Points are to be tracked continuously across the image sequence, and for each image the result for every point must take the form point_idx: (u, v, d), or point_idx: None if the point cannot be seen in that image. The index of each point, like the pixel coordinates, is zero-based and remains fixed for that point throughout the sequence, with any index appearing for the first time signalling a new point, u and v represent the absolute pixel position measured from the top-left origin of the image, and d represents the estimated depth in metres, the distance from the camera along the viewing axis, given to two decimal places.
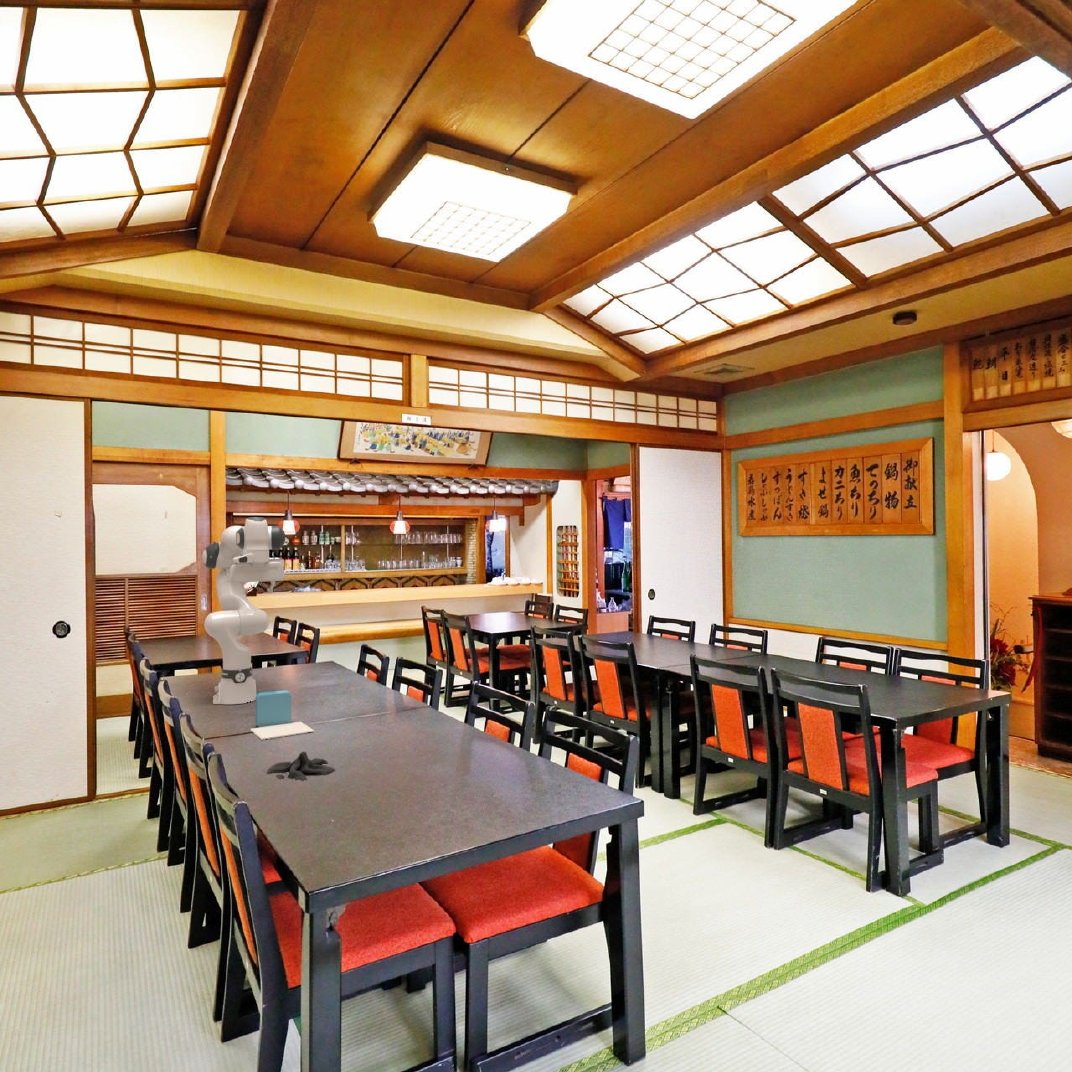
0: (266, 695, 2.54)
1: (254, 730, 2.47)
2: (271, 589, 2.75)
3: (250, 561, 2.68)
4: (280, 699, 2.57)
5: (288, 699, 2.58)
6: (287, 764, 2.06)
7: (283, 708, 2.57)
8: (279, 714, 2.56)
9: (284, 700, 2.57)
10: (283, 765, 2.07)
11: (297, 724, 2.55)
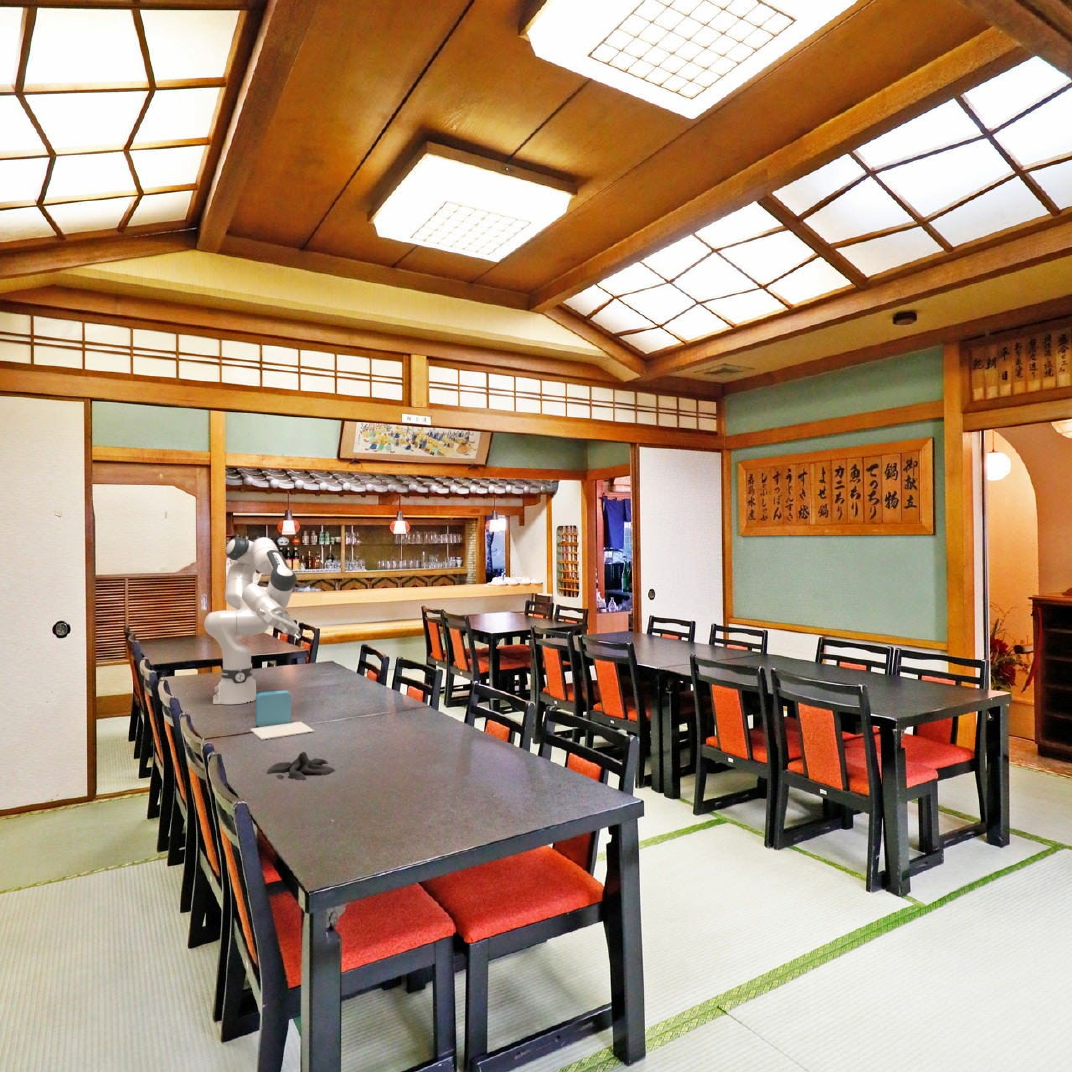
0: (266, 695, 2.54)
1: (254, 730, 2.47)
2: None
3: None
4: (280, 699, 2.57)
5: (288, 699, 2.58)
6: (287, 764, 2.06)
7: (283, 708, 2.57)
8: (279, 714, 2.56)
9: (284, 700, 2.57)
10: (283, 765, 2.07)
11: (297, 724, 2.55)
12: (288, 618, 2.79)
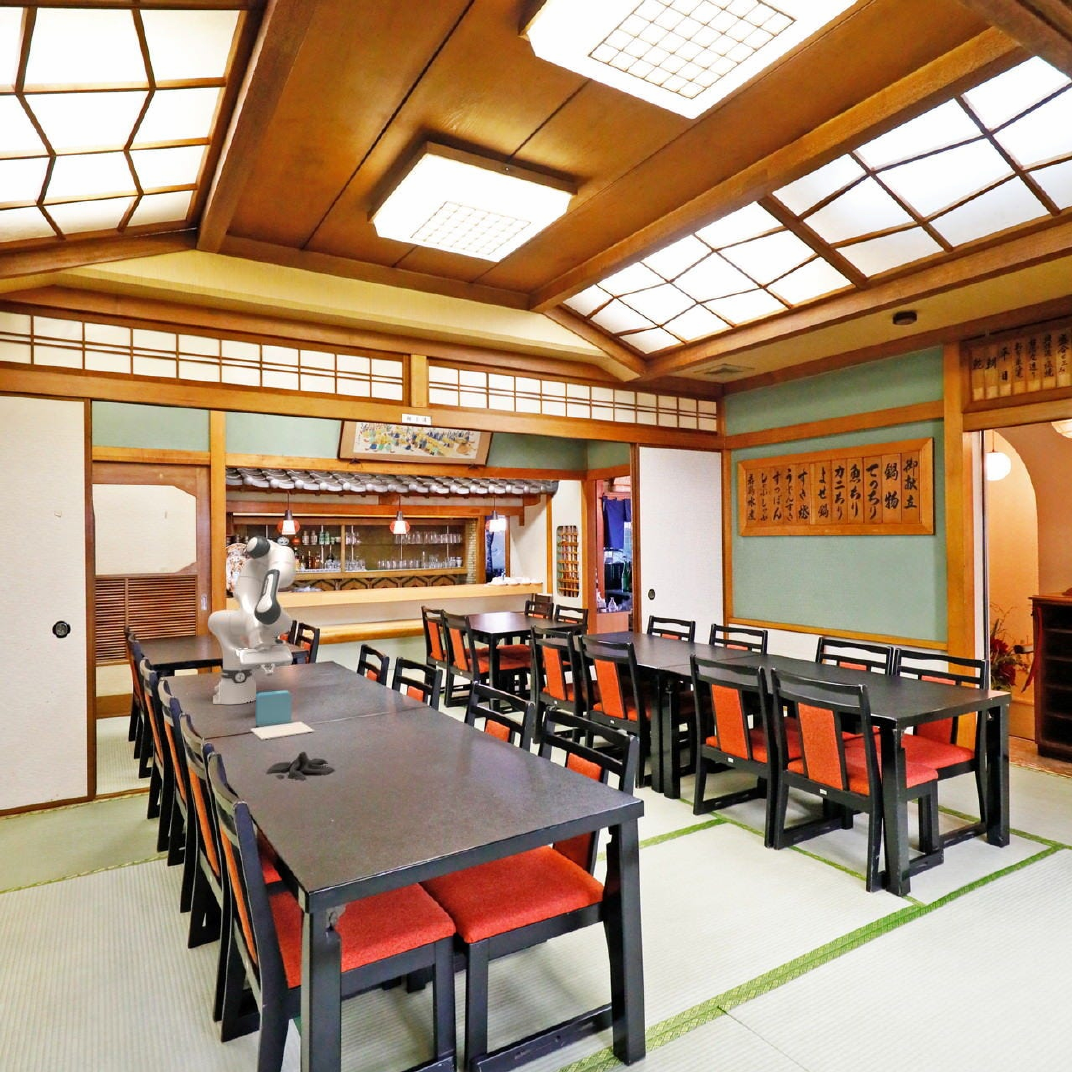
0: (266, 695, 2.54)
1: (254, 730, 2.47)
2: None
3: None
4: (280, 699, 2.57)
5: (288, 699, 2.58)
6: (287, 764, 2.06)
7: (283, 708, 2.57)
8: (279, 714, 2.56)
9: (284, 700, 2.57)
10: (283, 765, 2.07)
11: (297, 724, 2.55)
12: (281, 648, 2.77)
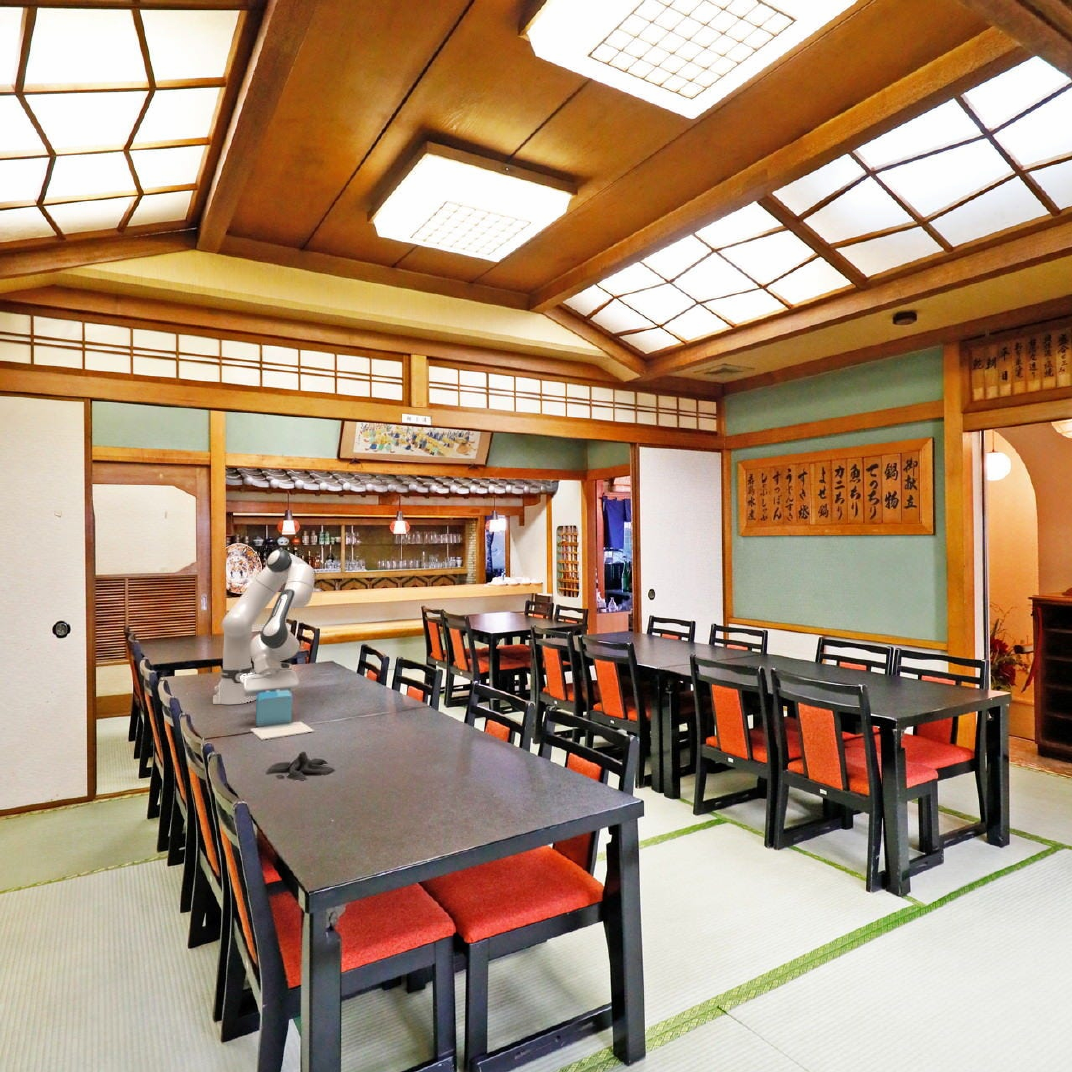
0: (267, 698, 2.51)
1: (254, 730, 2.47)
2: None
3: None
4: (281, 702, 2.54)
5: (289, 701, 2.55)
6: (287, 764, 2.06)
7: (284, 710, 2.55)
8: (279, 715, 2.55)
9: (285, 703, 2.55)
10: (282, 765, 2.07)
11: (297, 724, 2.55)
12: (287, 673, 2.67)
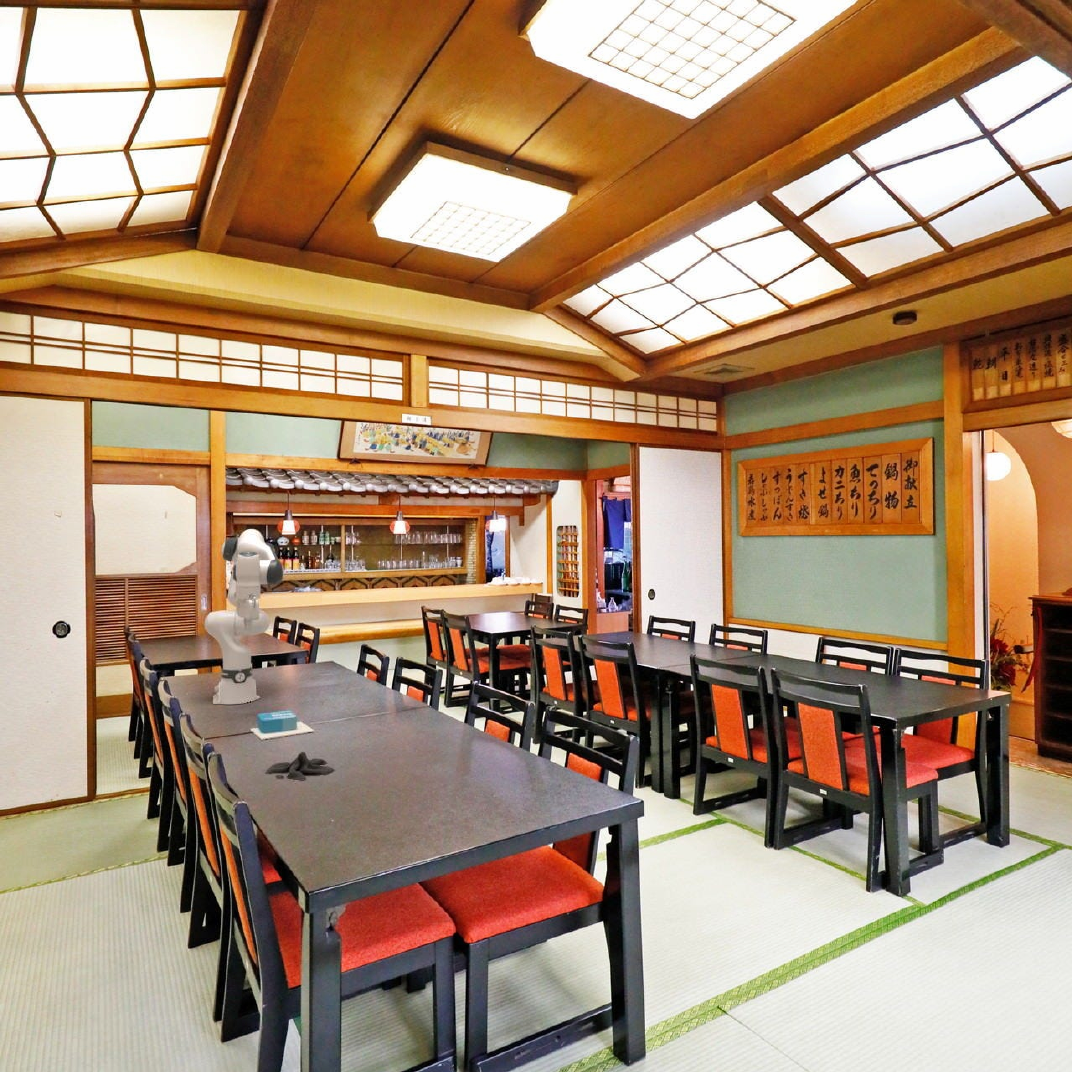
0: (271, 732, 2.44)
1: (254, 730, 2.47)
2: (246, 627, 2.65)
3: None
4: None
5: None
6: (286, 764, 2.06)
7: None
8: None
9: None
10: (282, 765, 2.07)
11: (297, 724, 2.55)
12: None
